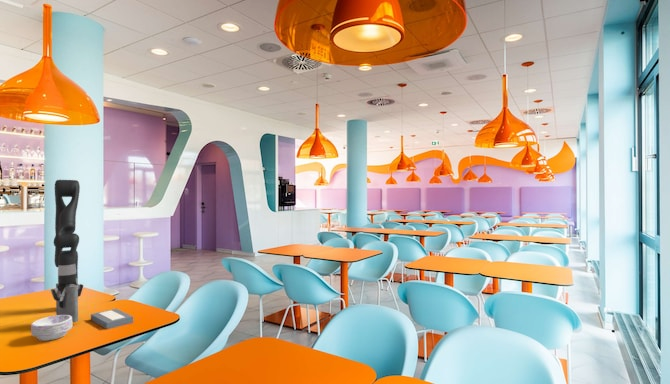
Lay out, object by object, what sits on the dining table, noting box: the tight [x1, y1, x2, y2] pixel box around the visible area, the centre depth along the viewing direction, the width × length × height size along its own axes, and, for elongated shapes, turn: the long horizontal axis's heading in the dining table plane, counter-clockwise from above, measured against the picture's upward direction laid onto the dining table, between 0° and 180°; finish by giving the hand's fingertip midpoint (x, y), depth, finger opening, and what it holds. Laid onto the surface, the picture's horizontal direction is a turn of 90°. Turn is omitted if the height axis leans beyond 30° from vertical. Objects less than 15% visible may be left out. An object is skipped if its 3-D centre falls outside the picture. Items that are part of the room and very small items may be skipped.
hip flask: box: [55, 283, 79, 323], centre depth 195 cm, size 16×4×20 cm, turn 62°
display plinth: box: [90, 308, 134, 330], centre depth 197 cm, size 22×12×3 cm, turn 50°
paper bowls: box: [30, 314, 73, 342], centre depth 176 cm, size 15×15×8 cm
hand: (67, 306), depth 195 cm, fingers closed on hip flask, 4 cm apart
